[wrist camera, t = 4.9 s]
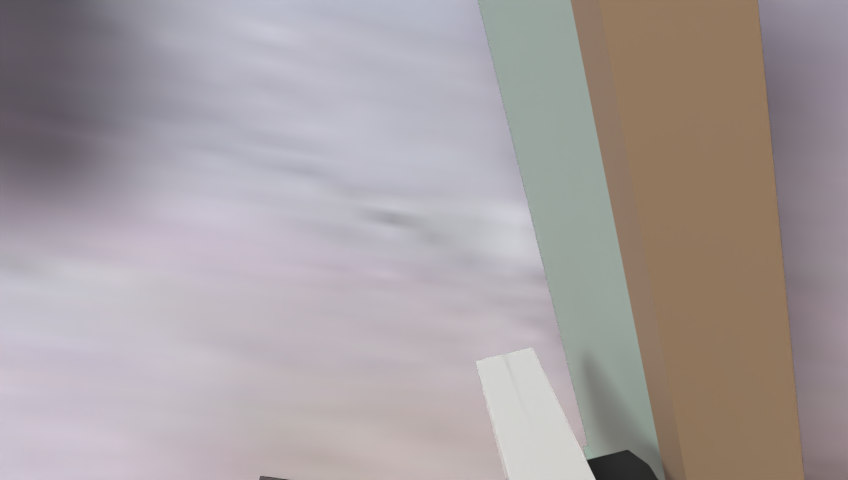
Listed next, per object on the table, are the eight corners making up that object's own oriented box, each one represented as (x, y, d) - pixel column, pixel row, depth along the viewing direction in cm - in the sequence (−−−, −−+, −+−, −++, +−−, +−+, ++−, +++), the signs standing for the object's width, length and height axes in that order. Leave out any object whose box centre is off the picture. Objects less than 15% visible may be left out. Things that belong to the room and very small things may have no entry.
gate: (444, -106, 17) (537, -331, 6) (511, -128, 17) (719, -392, 6) (592, 485, 24) (750, 834, 14) (640, 472, 24) (836, 812, 14)
